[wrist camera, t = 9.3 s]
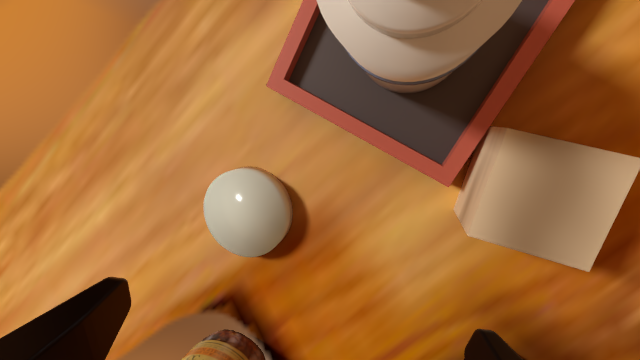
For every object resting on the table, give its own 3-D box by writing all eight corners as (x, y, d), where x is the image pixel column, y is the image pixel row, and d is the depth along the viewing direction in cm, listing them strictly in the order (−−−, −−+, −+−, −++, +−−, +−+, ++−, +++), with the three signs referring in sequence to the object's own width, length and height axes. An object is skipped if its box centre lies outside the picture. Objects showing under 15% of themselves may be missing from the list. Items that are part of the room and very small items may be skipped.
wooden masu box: (582, 148, 16) (644, 159, 12) (544, 235, 18) (589, 272, 13) (482, 125, 18) (507, 127, 13) (453, 208, 19) (467, 235, 14)
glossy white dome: (310, 204, 21) (303, 211, 20) (263, 264, 23) (253, 274, 22) (243, 148, 22) (231, 151, 20) (202, 211, 24) (189, 217, 22)
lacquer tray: (581, -25, 15) (603, -43, 13) (444, 180, 18) (448, 187, 17) (369, -115, 17) (364, -142, 15) (278, 88, 20) (266, 85, 18)
